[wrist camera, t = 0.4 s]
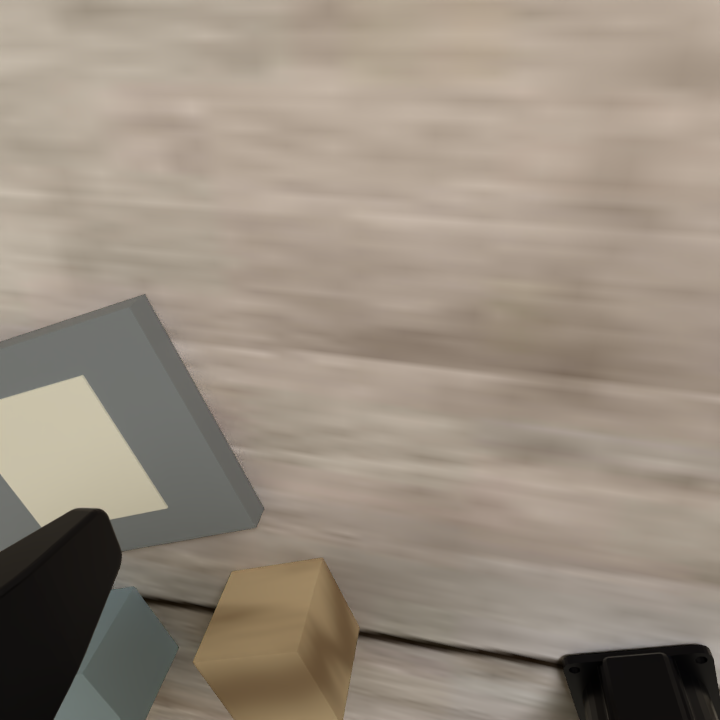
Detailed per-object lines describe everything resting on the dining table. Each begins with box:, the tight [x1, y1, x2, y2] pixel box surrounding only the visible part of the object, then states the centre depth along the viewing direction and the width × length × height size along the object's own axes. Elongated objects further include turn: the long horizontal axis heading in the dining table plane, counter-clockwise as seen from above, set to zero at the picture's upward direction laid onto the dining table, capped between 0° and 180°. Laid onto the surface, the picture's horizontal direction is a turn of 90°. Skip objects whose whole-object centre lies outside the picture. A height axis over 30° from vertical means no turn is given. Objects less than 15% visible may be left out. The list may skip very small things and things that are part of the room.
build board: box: [0, 294, 264, 551], centre depth 26 cm, size 11×14×1 cm
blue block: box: [54, 587, 179, 720], centre depth 31 cm, size 5×5×5 cm
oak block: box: [193, 558, 359, 720], centre depth 28 cm, size 5×5×5 cm
